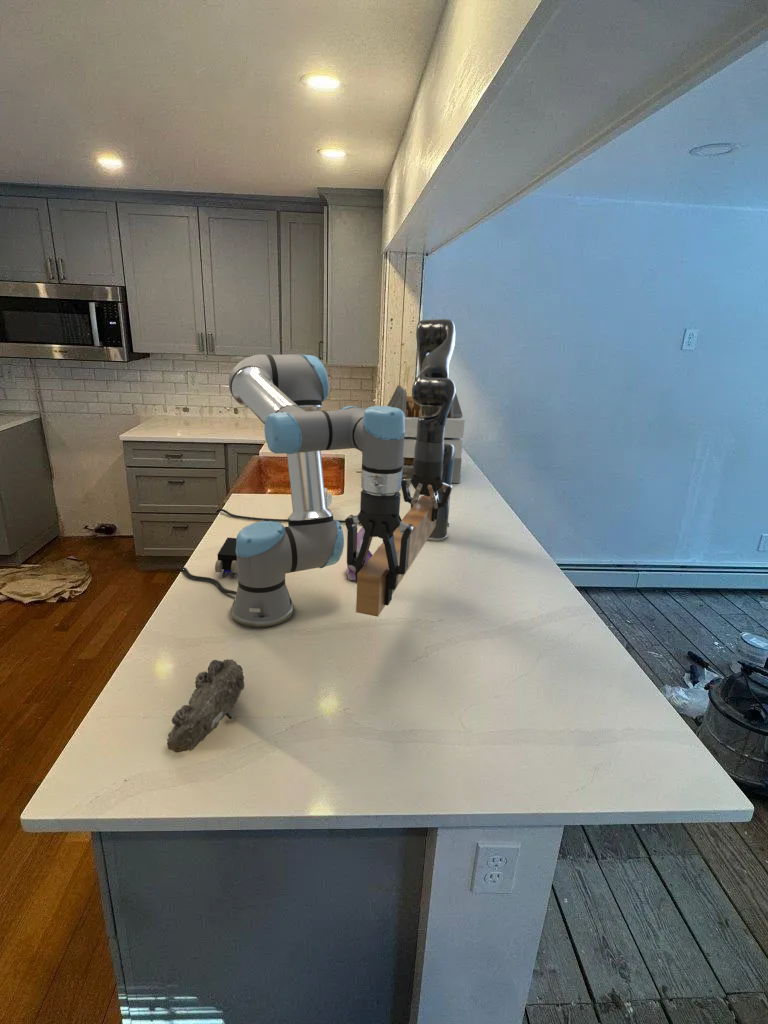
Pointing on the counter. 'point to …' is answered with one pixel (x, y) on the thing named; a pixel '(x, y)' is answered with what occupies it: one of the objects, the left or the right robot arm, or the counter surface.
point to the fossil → (206, 705)
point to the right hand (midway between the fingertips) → (424, 518)
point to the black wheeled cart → (227, 558)
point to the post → (377, 567)
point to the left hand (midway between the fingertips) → (375, 599)
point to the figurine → (351, 569)
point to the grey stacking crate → (412, 414)
